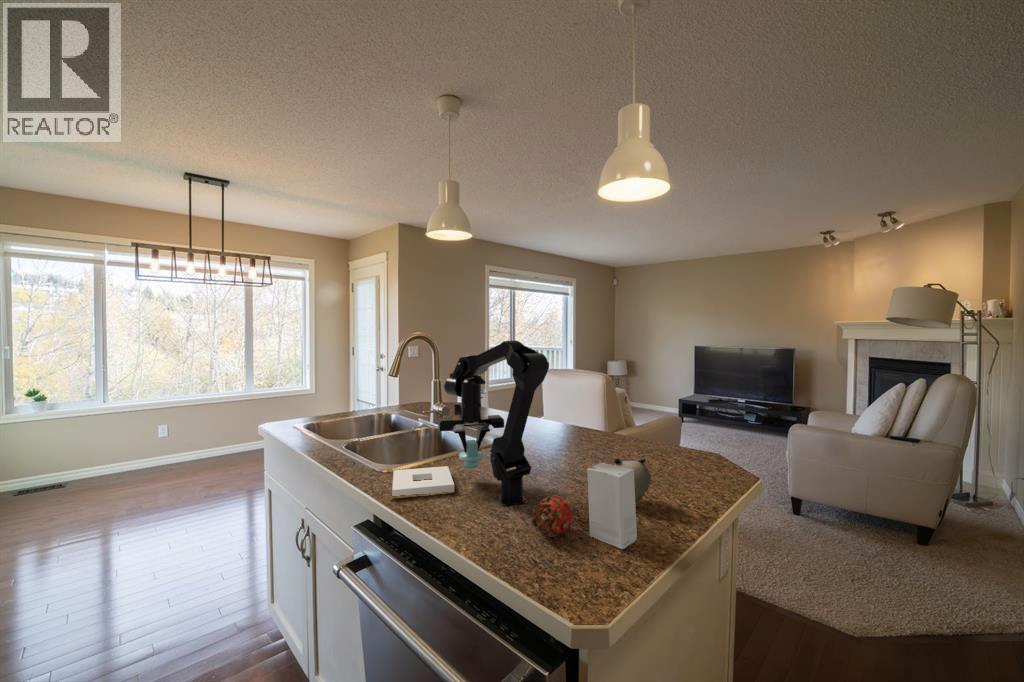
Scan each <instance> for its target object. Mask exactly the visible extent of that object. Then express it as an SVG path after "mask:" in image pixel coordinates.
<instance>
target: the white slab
mask: <svg viewBox="0 0 1024 682" xmlns="http://www.w3.org/2000/svg"><path fill="white" fill-rule="evenodd" d="M392 476H393V477H392V490H391V493H392V494H391V497H392V496H400V495H412V494H429V493H442V492H454V493H455V483H454V480H453V477H452V474H451V471H450V468H449V466H448V465H447V466H435V467H422V468H421V467H420V468H409V469H408V468H406V469H396V470H393V475H392ZM424 479H432V480H424ZM413 480H421V481H413Z"/></svg>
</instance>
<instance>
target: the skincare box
mask: <svg viewBox="0 0 1024 682" xmlns="http://www.w3.org/2000/svg"><path fill="white" fill-rule="evenodd" d="M586 471H587V472H586V473H587V493H588V494H587V495H588V518H589V519H588V520H589V524H588V525H589V537H590V536H591V537H590V538H592V537H594V538H593V539H595V538H596V539H595V540H597V539H598V541H600V542H603V543H605V544H608V545H610V546H613V547H616V548H618V549H620V550H624V549H626V547H628V546H630V545H632V544H633V543H635V542H636V541H637V538H638V536H637V535H638V534H637V533H638V532H637V513H636V512H637V511H636V510H637V509H636V508H637V507H636V506H635V484H634V469H629V468H624V467H619V466H615V464H610V463H605V462H599V463H597V464H594V465H593V466H591V467H588V468H587V470H586Z"/></svg>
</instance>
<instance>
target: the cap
mask: <svg viewBox="0 0 1024 682" xmlns="http://www.w3.org/2000/svg"><path fill="white" fill-rule="evenodd" d="M466 446H467V451H466V453H465V452H464V451H461V452H460V453H458V459H459V460H460V461H463V468H465V469H476V468H479V467H480V466H479V465H480V460H482V459H484V453H483V452H481V451H479V450H478V444H477V442H476V440H475V439H466Z"/></svg>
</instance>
